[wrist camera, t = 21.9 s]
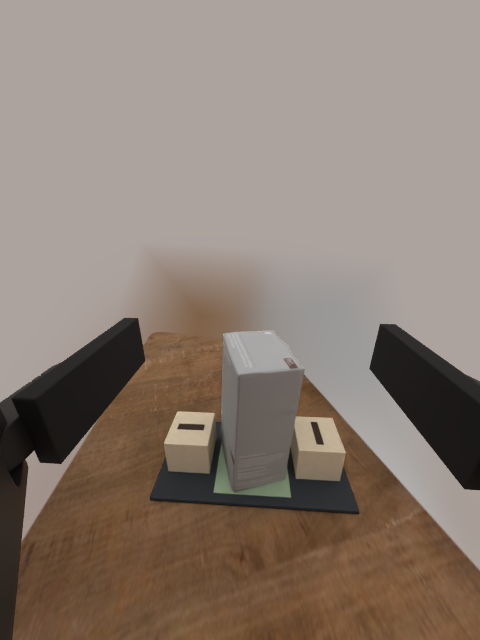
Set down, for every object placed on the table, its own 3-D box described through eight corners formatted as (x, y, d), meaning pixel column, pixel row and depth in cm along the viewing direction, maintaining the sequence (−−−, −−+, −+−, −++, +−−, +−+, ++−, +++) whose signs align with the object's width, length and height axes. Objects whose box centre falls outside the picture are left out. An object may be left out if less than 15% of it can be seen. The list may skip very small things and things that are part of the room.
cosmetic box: (219, 435, 33) (214, 331, 27) (268, 426, 34) (273, 325, 28) (231, 498, 25) (228, 372, 19) (293, 483, 27) (308, 362, 21)
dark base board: (150, 500, 26) (142, 467, 24) (180, 422, 36) (176, 395, 34) (358, 513, 24) (368, 480, 22) (328, 428, 34) (333, 401, 33)
